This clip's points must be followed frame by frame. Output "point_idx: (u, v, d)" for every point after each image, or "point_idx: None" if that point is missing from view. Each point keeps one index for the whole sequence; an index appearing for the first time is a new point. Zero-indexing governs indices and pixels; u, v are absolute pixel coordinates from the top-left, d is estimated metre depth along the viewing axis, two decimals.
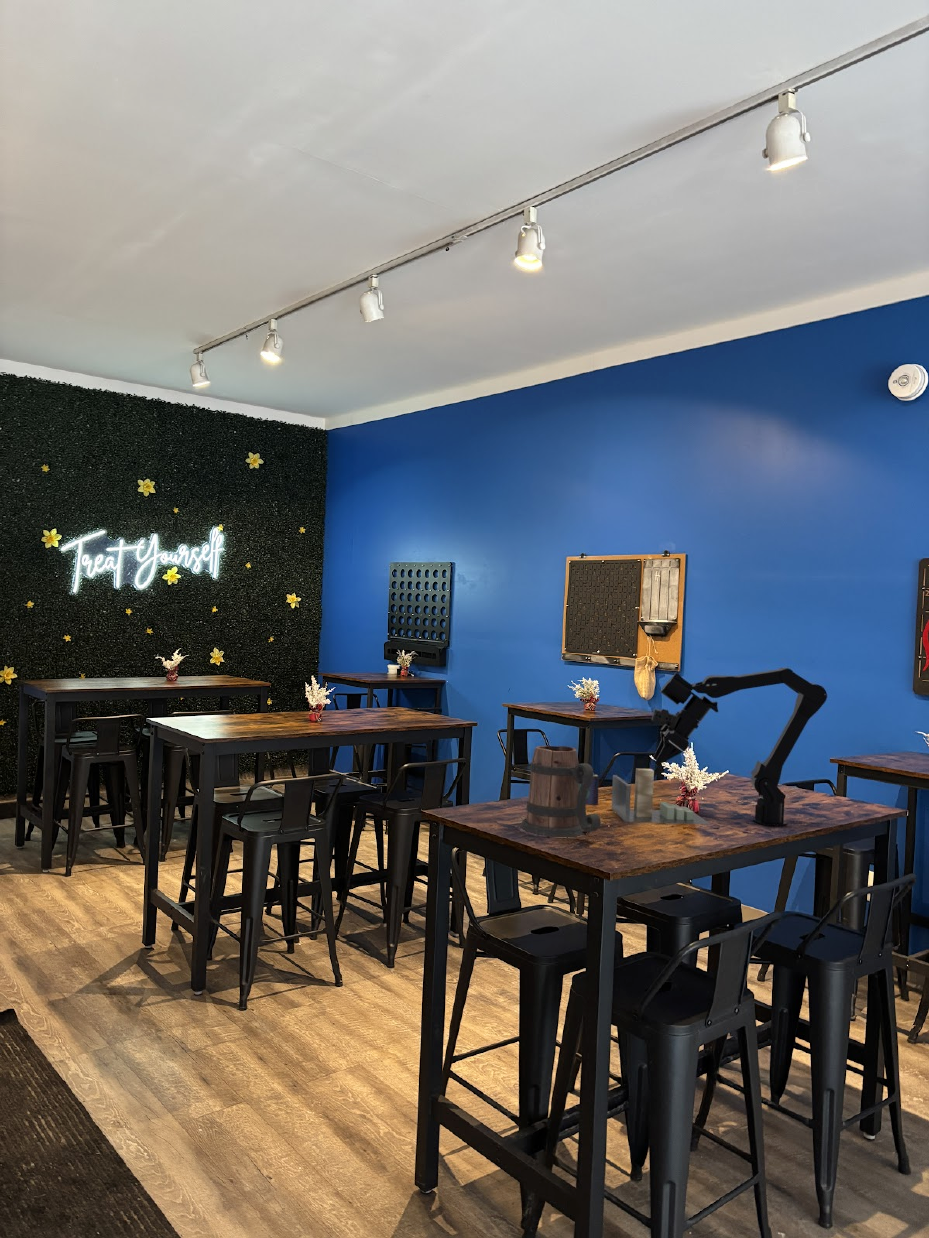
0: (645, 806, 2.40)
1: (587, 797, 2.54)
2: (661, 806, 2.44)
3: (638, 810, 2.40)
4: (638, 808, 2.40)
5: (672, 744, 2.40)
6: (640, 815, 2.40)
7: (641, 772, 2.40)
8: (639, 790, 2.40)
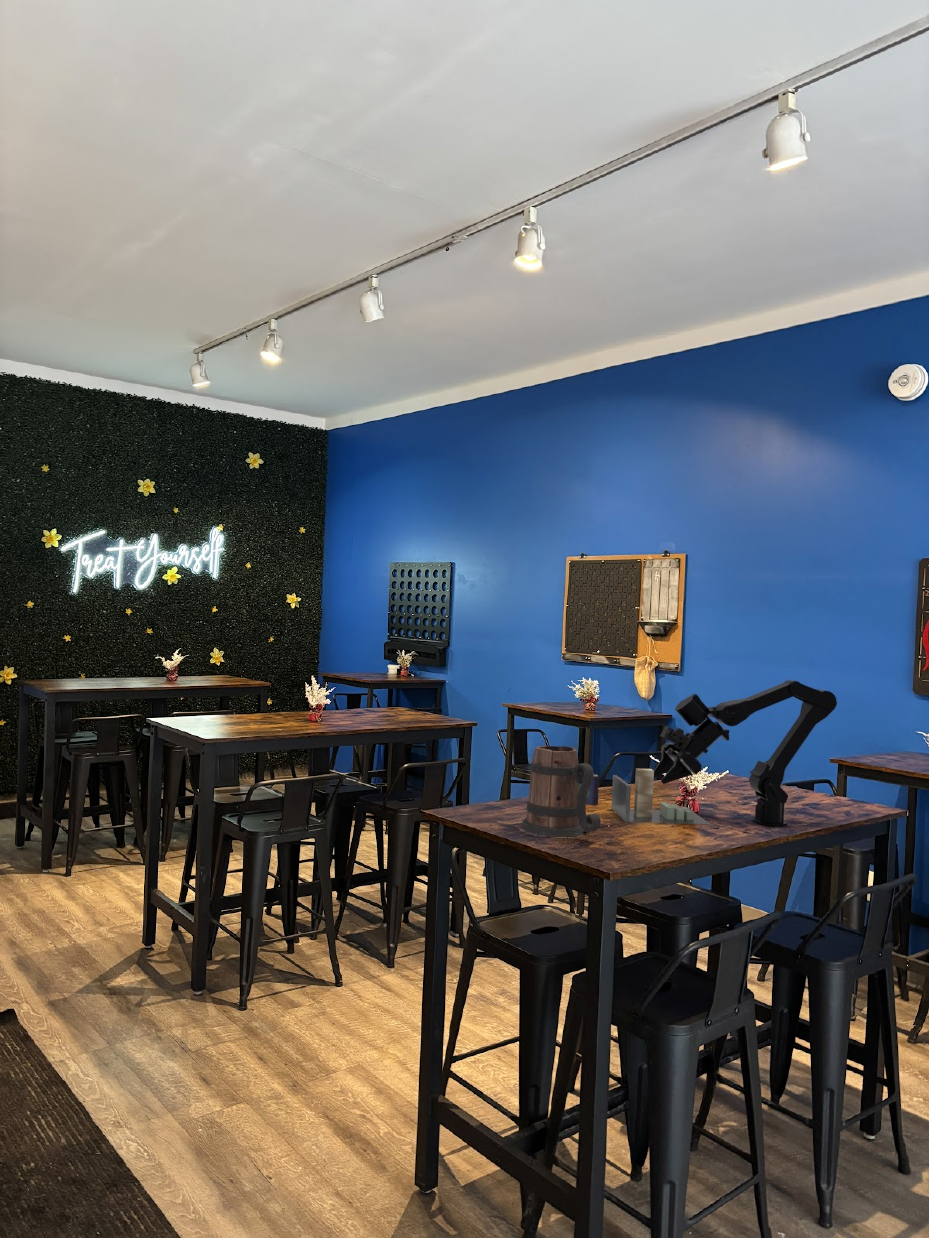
0: (645, 806, 2.40)
1: (587, 797, 2.54)
2: (661, 806, 2.44)
3: (638, 810, 2.40)
4: (638, 808, 2.40)
5: (684, 765, 2.34)
6: (640, 815, 2.40)
7: (641, 772, 2.40)
8: (639, 790, 2.40)
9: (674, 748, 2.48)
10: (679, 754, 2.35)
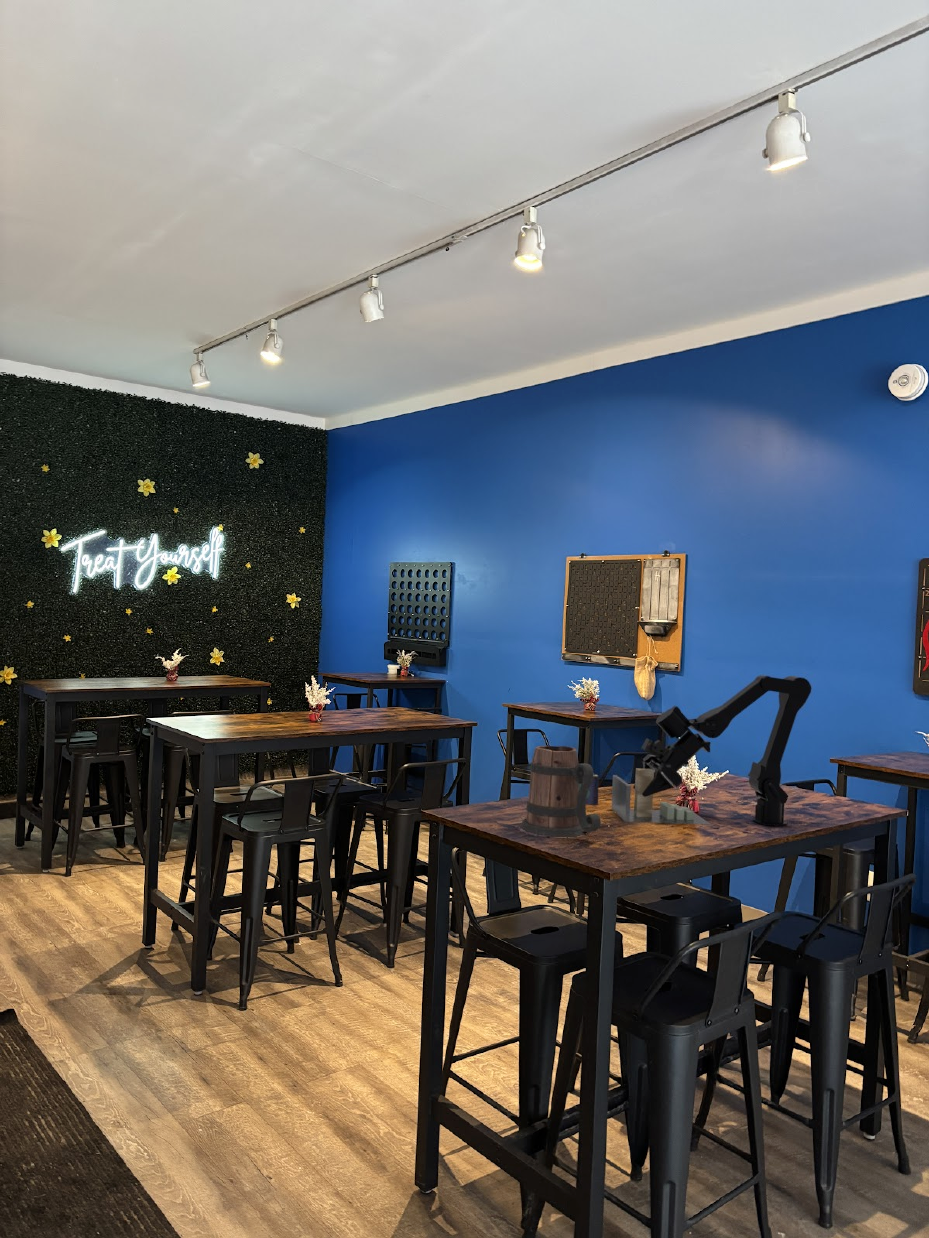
0: (645, 806, 2.40)
1: (587, 797, 2.54)
2: (661, 806, 2.44)
3: (638, 810, 2.40)
4: (638, 808, 2.40)
5: (665, 778, 2.34)
6: (640, 815, 2.40)
7: (641, 772, 2.40)
8: (639, 790, 2.40)
9: (656, 760, 2.47)
10: (660, 767, 2.35)
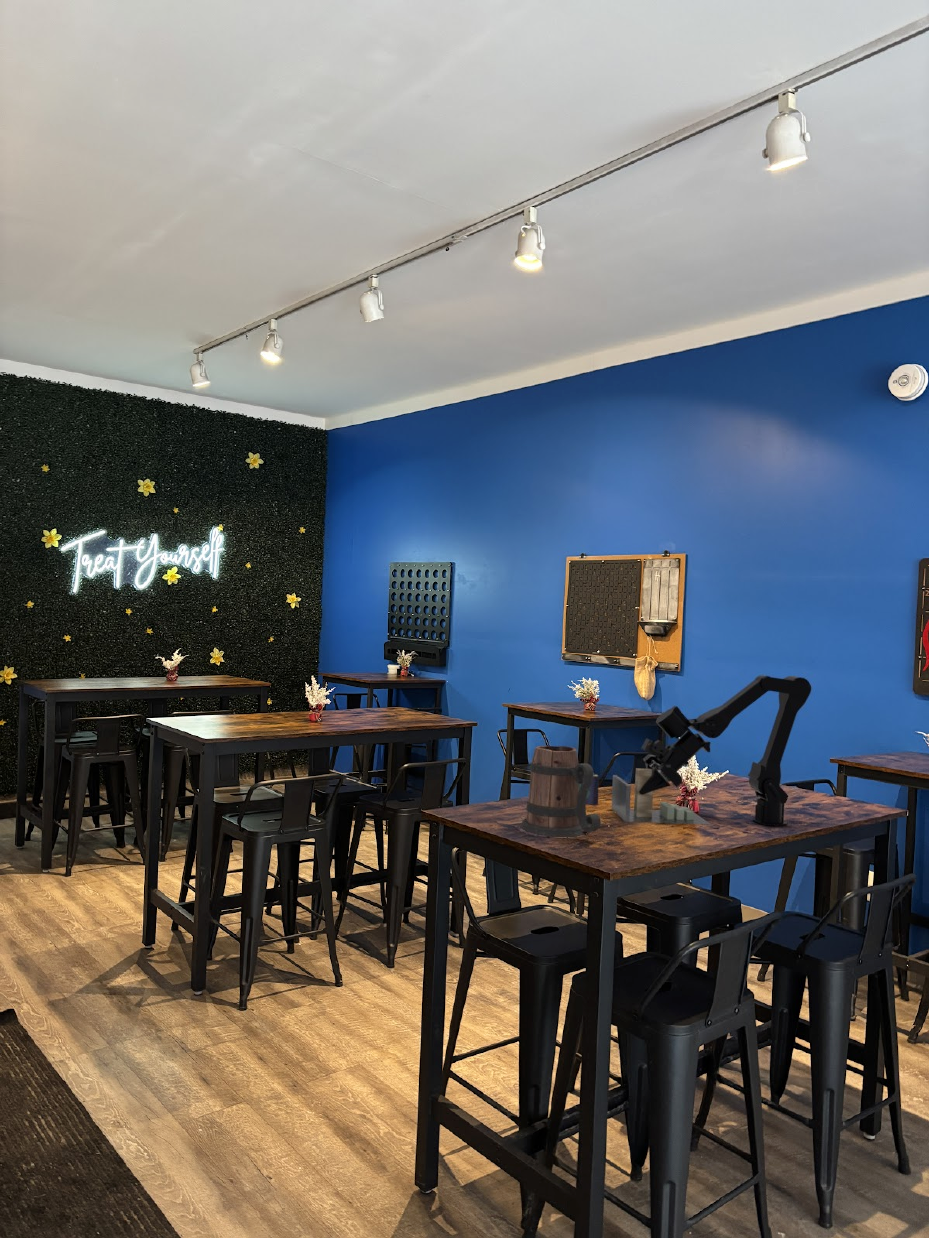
0: (645, 806, 2.40)
1: (587, 797, 2.54)
2: (661, 806, 2.44)
3: (638, 810, 2.40)
4: (638, 808, 2.40)
5: (662, 776, 2.37)
6: (640, 815, 2.40)
7: (641, 772, 2.40)
8: (639, 790, 2.40)
9: (656, 760, 2.47)
10: (660, 767, 2.35)
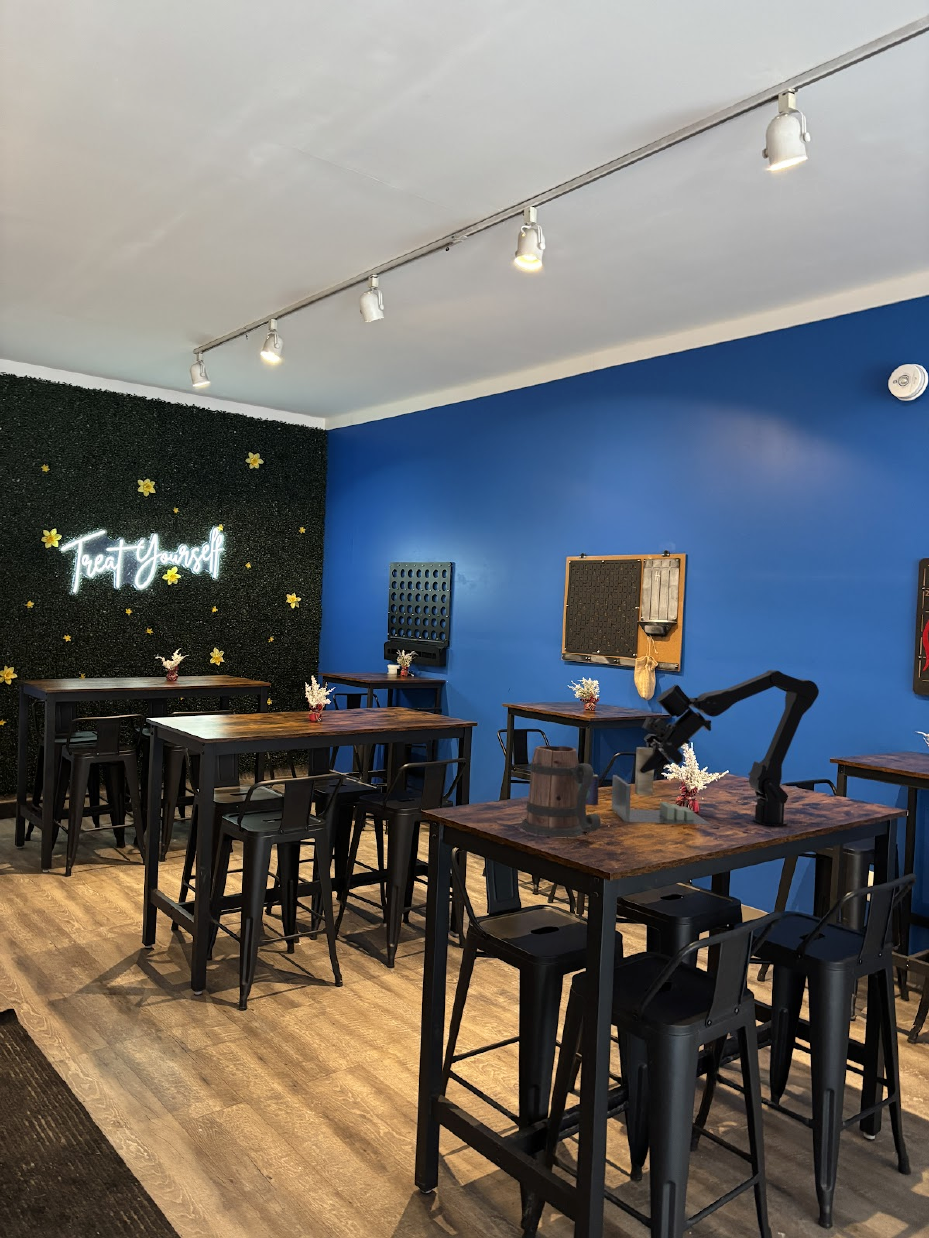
0: (646, 785, 2.40)
1: (587, 797, 2.54)
2: (661, 806, 2.44)
3: (639, 789, 2.40)
4: (639, 786, 2.40)
5: (663, 754, 2.37)
6: (641, 794, 2.40)
7: (642, 751, 2.40)
8: None
9: (656, 739, 2.47)
10: (660, 745, 2.35)
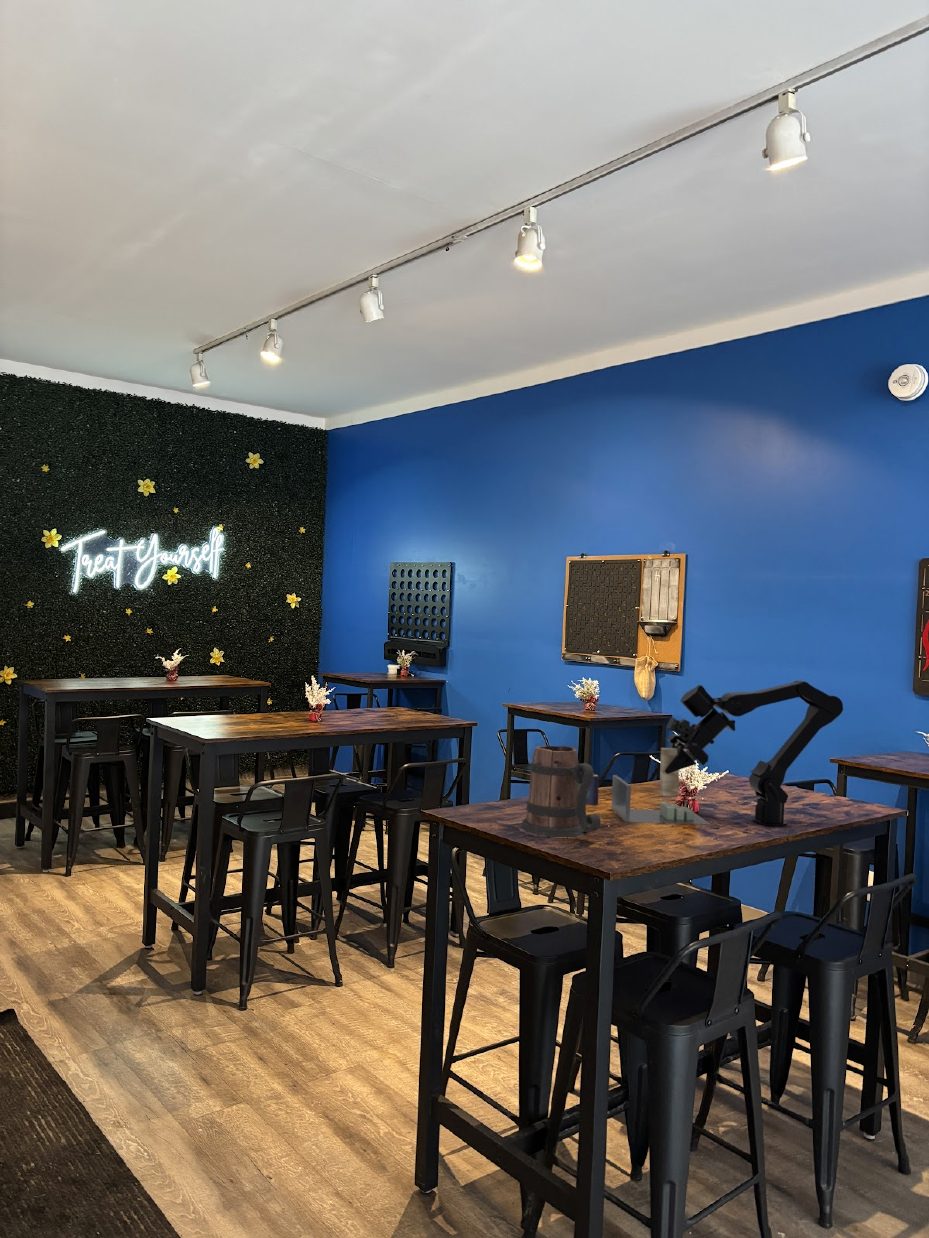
0: (671, 785, 2.41)
1: (587, 797, 2.54)
2: (661, 806, 2.44)
3: (664, 789, 2.40)
4: (664, 787, 2.40)
5: (688, 755, 2.37)
6: (666, 794, 2.40)
7: (667, 751, 2.40)
8: (665, 769, 2.40)
9: (680, 740, 2.48)
10: (686, 745, 2.35)
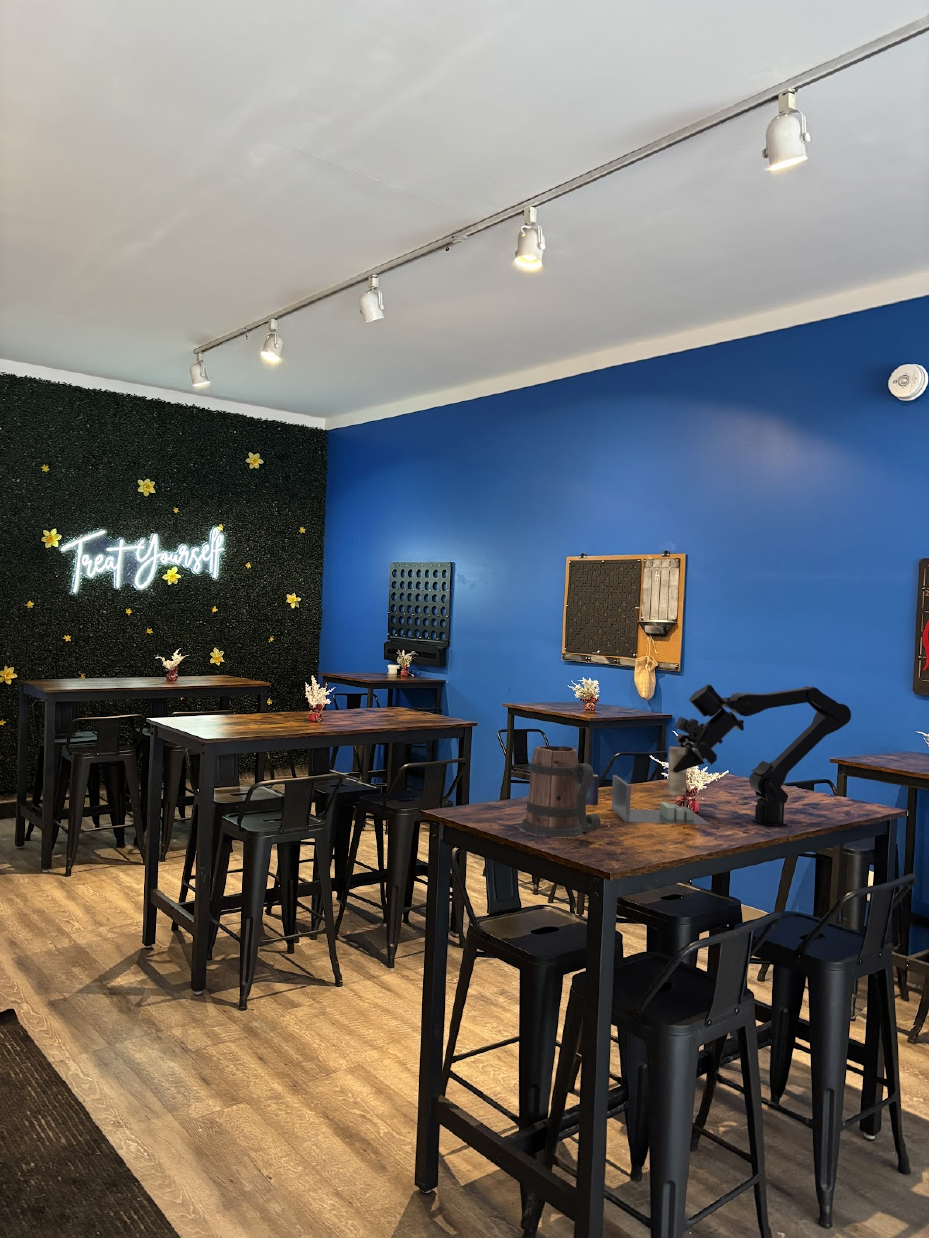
0: (679, 784, 2.41)
1: (587, 797, 2.54)
2: (661, 806, 2.44)
3: (672, 788, 2.41)
4: (672, 786, 2.41)
5: (696, 754, 2.37)
6: (674, 793, 2.41)
7: (675, 750, 2.41)
8: (673, 768, 2.41)
9: (688, 739, 2.48)
10: (694, 745, 2.35)
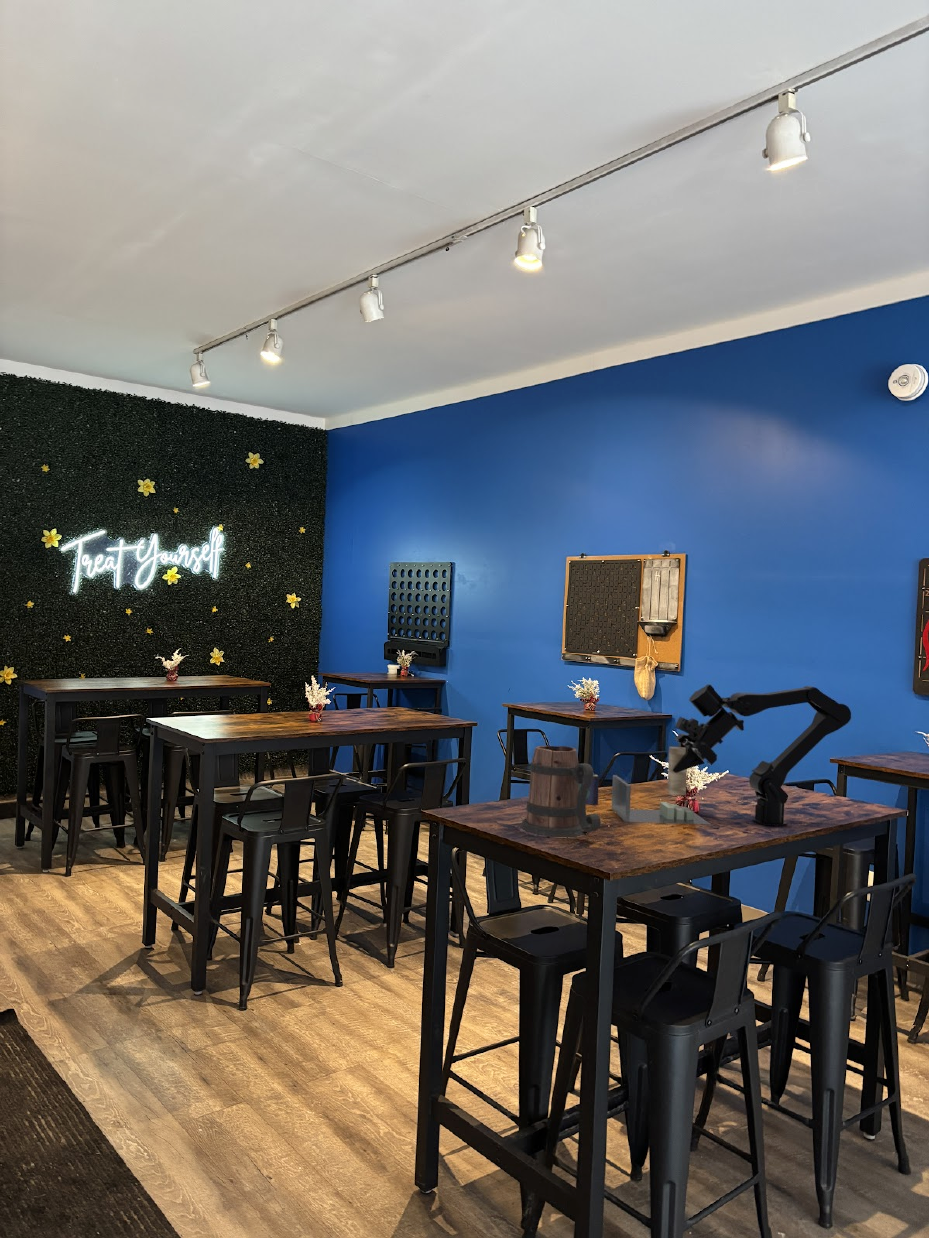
0: (679, 784, 2.41)
1: (587, 797, 2.54)
2: (661, 806, 2.44)
3: (672, 788, 2.41)
4: (672, 786, 2.41)
5: (696, 754, 2.37)
6: (674, 793, 2.41)
7: (675, 750, 2.41)
8: (673, 768, 2.41)
9: (688, 739, 2.48)
10: (694, 745, 2.35)
